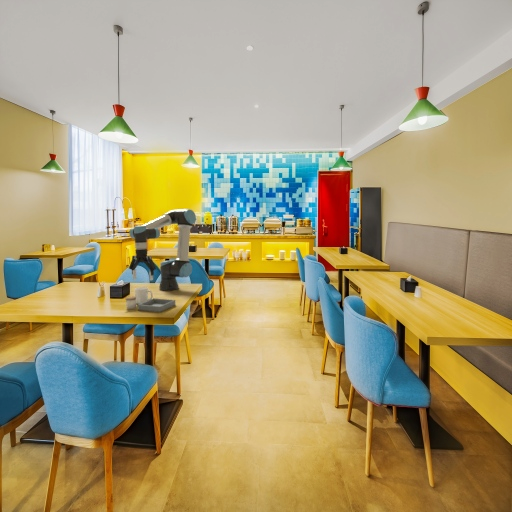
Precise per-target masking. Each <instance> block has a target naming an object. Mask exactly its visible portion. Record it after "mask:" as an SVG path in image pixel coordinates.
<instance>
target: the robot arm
mask: <svg viewBox="0 0 512 512" xmlns="http://www.w3.org/2000/svg"><path fill="white" fill-rule="evenodd" d="M196 221H197V215H196V213H195V212H194V210H193V209H190V208H183V209H179V208H178V209H172V210H169V211H168V212H165V213H163V214H162V215H161V216H160V217H158V218H155V219H154V220H151V221H149V222H148V223H147V222H146V223H145V224H143V225H135V226H134V227H132V228H131V229H130V230H129V232H128V233H129V237H130V238H131V239H134V248H135V255H132V256H131V261H130V264H129V267H128V269H129V270H131V275H132V280H137V277H138V276H137V269H136V268H137V267H138V265H139V263H142V264H143V263H144V264H145V266H146V267H147V268H148V269H149V270H148V271H149V272H148V273H149V281H153V280H154V275H155V273H154V272H155V270H157V267H156V265H155V263H154V261H153V259H152V257H153V256H151V255H148V242H147V241H148V240H156V239H159V238H160V235H161V231H160V229H161V228H164V227H165V226H170V225H177V227H178V237H177V238H178V239H177V252H176V254H177V255H176V258H175V259H170V260H164V261H161V262H160V265H159V267H160V283H159V289H158V290H160V291H166V292H167V291H174V290H175V291H176V290H177V289H179V287H180V286H179V284H178V281H177V278H188V277H189V276H190V275H192V272H193V266H192V263H190V259H189V251H190V250H189V248H190V238H191V235H190V234H191V229H192V228H193V225H194V224H195V223H196Z"/></svg>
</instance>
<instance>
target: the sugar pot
mask: <svg viewBox="0 0 512 512" xmlns="http://www.w3.org/2000/svg"><path fill="white" fill-rule="evenodd" d="M125 302H126V310H135V309H138V305H137V304H136V297H135V295H134V296H133V295H132V296H127V297H125Z"/></svg>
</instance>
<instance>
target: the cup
mask: <svg viewBox="0 0 512 512" xmlns="http://www.w3.org/2000/svg"><path fill="white" fill-rule="evenodd" d="M149 294H150V298H149ZM134 297H136V305H139V304H141V303H144V302H146V301H149V300H151V299H153V292H152V290H150V289H148V286H137V287H135V288H134Z"/></svg>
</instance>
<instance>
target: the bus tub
mask: <svg viewBox="0 0 512 512" xmlns="http://www.w3.org/2000/svg"><path fill="white" fill-rule="evenodd" d="M175 306H176V299H167V298H158V297H157V298H152V299H151V300H148V301H146V302H144V303H141V304H137V310H138V311H140V312H141V311H144V312H150V313H151V312H152V313H153V312H154V313H162V312H165V311H166V310H168V309H170V308H172V307H175Z"/></svg>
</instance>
